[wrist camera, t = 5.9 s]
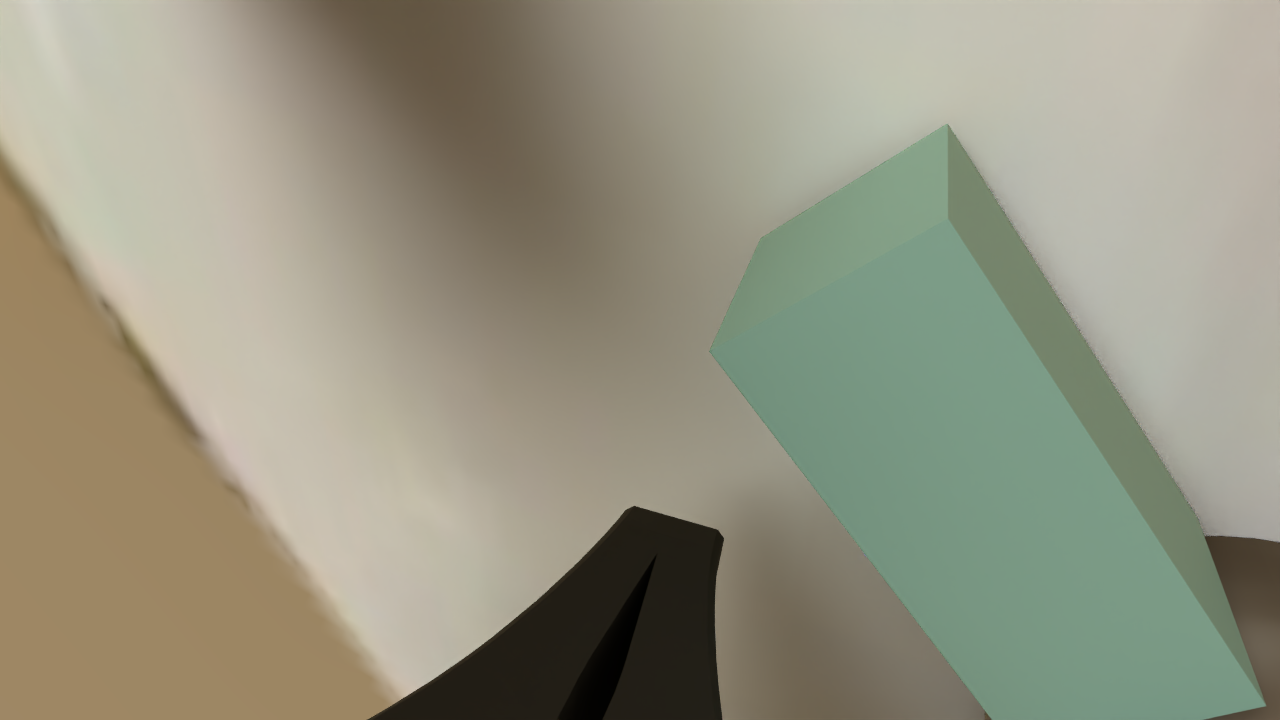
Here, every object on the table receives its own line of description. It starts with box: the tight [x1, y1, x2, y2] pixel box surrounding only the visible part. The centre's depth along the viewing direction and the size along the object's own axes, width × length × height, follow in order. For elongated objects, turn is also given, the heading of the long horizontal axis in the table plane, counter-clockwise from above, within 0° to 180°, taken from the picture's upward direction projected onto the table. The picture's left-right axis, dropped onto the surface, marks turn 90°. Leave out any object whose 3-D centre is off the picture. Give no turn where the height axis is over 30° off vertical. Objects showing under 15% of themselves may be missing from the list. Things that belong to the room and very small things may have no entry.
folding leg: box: [709, 124, 1266, 720], centre depth 12 cm, size 7×3×4 cm, turn 39°
